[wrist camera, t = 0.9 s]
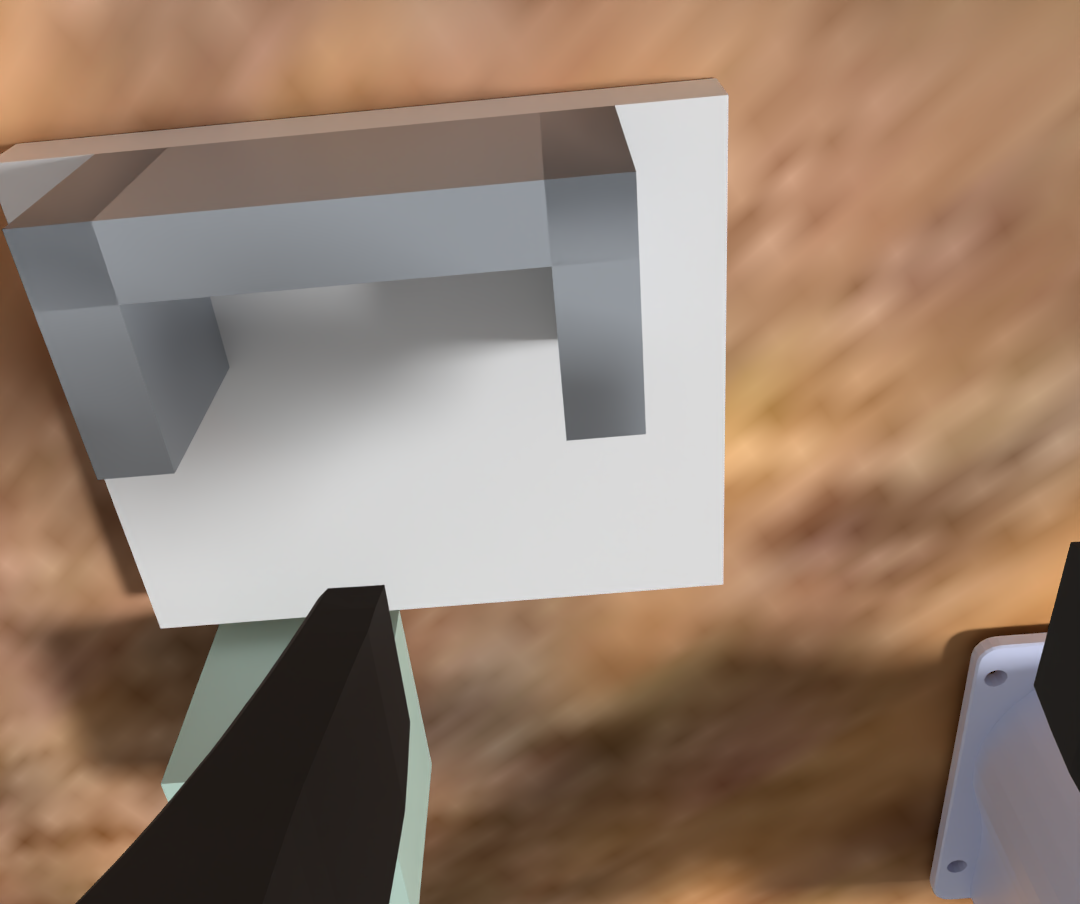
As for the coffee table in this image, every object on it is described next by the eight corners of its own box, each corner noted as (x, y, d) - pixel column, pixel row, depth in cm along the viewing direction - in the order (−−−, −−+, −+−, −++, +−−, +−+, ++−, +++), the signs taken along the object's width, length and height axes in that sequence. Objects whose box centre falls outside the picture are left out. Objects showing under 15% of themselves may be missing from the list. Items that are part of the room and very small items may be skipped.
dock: (714, 549, 23) (755, 708, 19) (176, 591, 23) (104, 757, 19) (716, 77, 17) (775, 158, 13) (16, 144, 18) (-131, 241, 14)
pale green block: (433, 745, 26) (416, 930, 21) (276, 757, 26) (228, 943, 22) (402, 591, 23) (375, 768, 19) (226, 605, 23) (160, 783, 19)
